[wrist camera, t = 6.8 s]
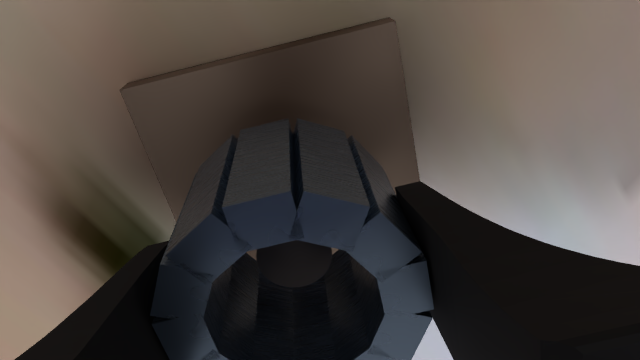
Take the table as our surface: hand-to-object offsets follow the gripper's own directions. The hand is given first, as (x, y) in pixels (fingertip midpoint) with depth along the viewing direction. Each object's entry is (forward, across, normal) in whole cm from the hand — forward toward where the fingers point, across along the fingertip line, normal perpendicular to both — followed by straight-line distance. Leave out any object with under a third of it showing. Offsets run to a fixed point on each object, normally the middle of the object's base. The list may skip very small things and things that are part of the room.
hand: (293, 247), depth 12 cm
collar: (+2, 0, 0) cm, 2 cm away
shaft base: (+5, 0, 0) cm, 5 cm away
